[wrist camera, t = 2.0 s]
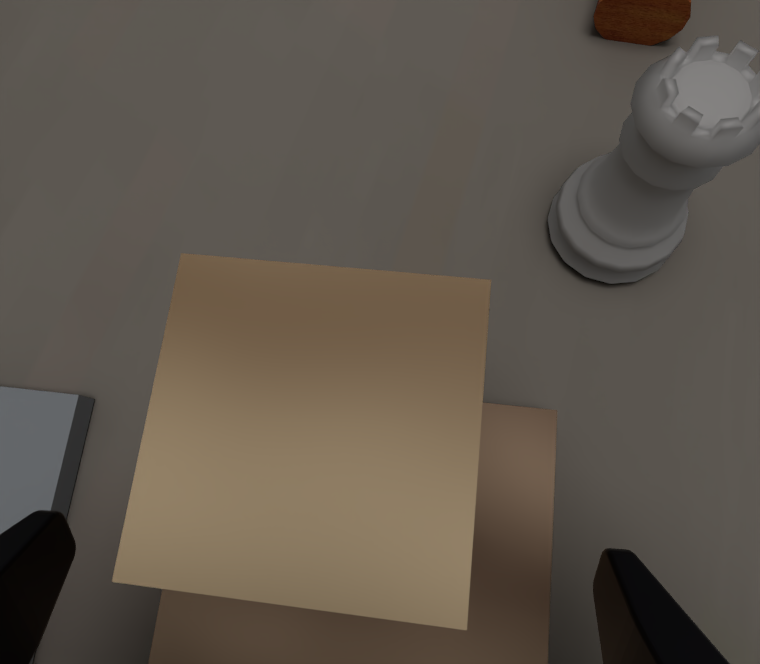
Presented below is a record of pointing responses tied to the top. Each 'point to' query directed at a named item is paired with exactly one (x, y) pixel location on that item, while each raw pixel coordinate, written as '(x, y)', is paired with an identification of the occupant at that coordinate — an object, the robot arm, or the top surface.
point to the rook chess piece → (658, 162)
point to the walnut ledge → (403, 639)
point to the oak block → (313, 440)
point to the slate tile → (39, 451)
